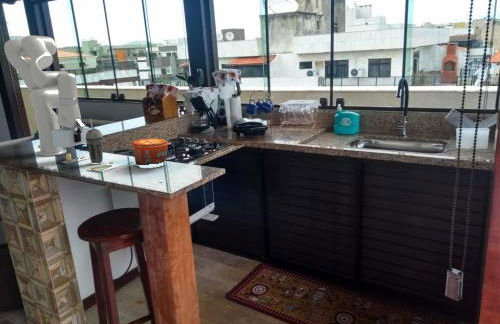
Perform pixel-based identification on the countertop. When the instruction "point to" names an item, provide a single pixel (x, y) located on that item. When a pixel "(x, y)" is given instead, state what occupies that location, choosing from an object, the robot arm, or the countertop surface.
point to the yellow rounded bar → (69, 160)
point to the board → (101, 166)
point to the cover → (67, 137)
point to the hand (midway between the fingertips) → (72, 140)
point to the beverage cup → (95, 144)
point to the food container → (150, 151)
